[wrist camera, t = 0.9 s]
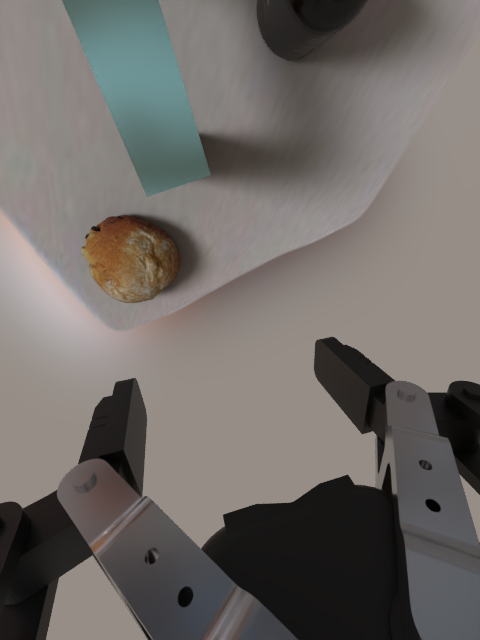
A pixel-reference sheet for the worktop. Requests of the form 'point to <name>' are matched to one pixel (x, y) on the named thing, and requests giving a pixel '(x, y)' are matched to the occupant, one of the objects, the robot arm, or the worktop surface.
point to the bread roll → (130, 258)
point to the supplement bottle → (303, 23)
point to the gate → (141, 88)
